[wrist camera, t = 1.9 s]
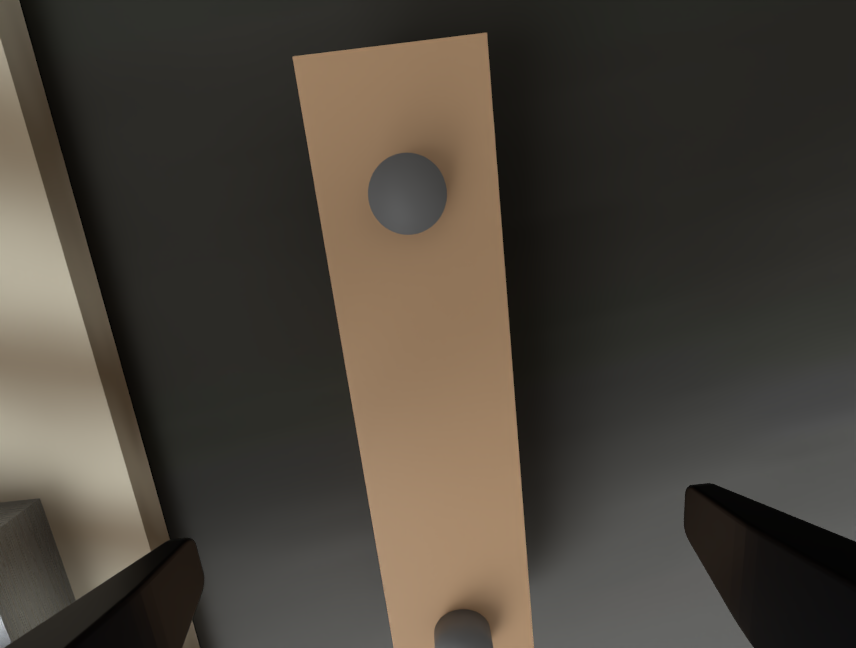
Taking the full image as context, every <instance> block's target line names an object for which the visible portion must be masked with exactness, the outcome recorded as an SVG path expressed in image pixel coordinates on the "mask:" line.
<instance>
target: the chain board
mask: <svg viewBox="0 0 856 648" xmlns="http://www.w3.org/2000/svg"><path fill="white" fill-rule="evenodd" d="M38 498H40V500H41V503H42V505H43V508H44V511H45V514H46V517H47V520H48V523H49V525H50V528H51V531H52V534H53V537H54V540H55V542H56V545H57V548H58V551H59V554H60V557H61V560H62V562H63V565H64V568H65V571H66V574H67V577H68V579H69V582H70V585H71V588H72V591H73V594H74V597H75V599H76V600H77V599H79V598H80V597H82V596H83V595H85V594H86V593H88V592H89V591H91V590H93V589H94V588H96V587H97V586H99V585H100V584H102V583H103V582H105V581H106V580H108V579H109V578H111V577H112V576H114V575H115V574H117V573H118V572H120V571H122V570H123V569H125V568H126V567H128V566H129V565H131V564H132V563H134V562H135V561H137V560H138V559H140V558H141V557H143V556H144V555H146V554H147V553H149V552H151V551H152V550H154V549H155V548H157V547H158V546H160V545H161V544H163V543H164V542H166V541H168V540H170V538H169V535H168V531H167V528H166V524H165V521H164V517H163V513H162V510H161V506H160V503H159V499H158V496H157V492H156V488H155V485H154V481H153V478H152V474H151V470H150V467H149V463H148V460H147V456H146V453H145V449H144V445H143V442H142V438H141V435H140V431H139V427H138V424H137V420H136V417H135V413H134V410H133V406H132V402H131V399H130V395H129V392H128V388H127V385H126V381H125V377H124V374H123V370H122V367H121V363H120V359H119V356H118V352H117V349H116V345H115V342H114V338H113V334H112V331H111V327H110V324H109V320H108V316H107V313H106V309H105V306H104V302H103V299H102V295H101V291H100V288H99V284H98V281H97V277H96V274H95V270H94V266H93V263H92V259H91V256H90V252H89V248H88V245H87V241H86V238H85V234H84V231H83V227H82V223H81V220H80V216H79V213H78V209H77V205H76V202H75V198H74V195H73V191H72V188H71V184H70V180H69V177H68V173H67V170H66V166H65V162H64V159H63V155H62V152H61V148H60V145H59V141H58V137H57V134H56V130H55V127H54V123H53V120H52V116H51V112H50V109H49V105H48V102H47V98H46V94H45V91H44V87H43V84H42V80H41V77H40V73H39V69H38V66H37V62H36V59H35V55H34V51H33V48H32V44H31V41H30V37H29V34H28V30H27V26H26V23H25V19H24V16H23V12H22V9H21V5H20V1H19V0H0V502H9V501H19V500H28V499H38ZM183 648H200V646H199V642H198V639H197V635H196V632H195V628H194V624H193V621H192V622H191V625H190V628H189V631H188V634H187V636H186V639H185V642H184V645H183Z"/></svg>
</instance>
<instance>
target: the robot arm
mask: <svg viewBox="0 0 856 648" xmlns="http://www.w3.org/2000/svg"><path fill="white" fill-rule="evenodd" d="M684 529H685V533H686V535H687V538H688V540H689V542H690V543H691V545H692V547H693V549H694V550H695V552H696V554H697V555H698V557H699V559H700V561H701V562H702V564H703V566H704V568H705V569H706V571H707V573H708V574H709V576H710V578H711V580H712V581H713V583H714V585H715V587H716V588H717V590H718V592H719V593H720V595H721V597H722V599H723V600H724V602H725V604H726V606H727V607H728V609H729V611H730V612H731V614H732V616H733V617H734V619H735V620H736V622H737V624H738V625H739V627H740V628H741V630H742V631H743V633H744V634H745V636H746V637H747V639H748V640H749V642H750V643H751V644H752V646H753V647H754V648H856V542H855V541H853V540H850V539H848V538H845V537H843V536H840V535H838V534H835V533H833V532H830V531H828V530H825V529H823V528H821V527H818V526H816V525H813V524H811V523H808V522H806V521H803V520H801V519H798V518H796V517H793V516H791V515H789V514H786V513H784V512H781V511H779V510H776V509H774V508H771V507H769V506H766V505H764V504H761V503H759V502H757V501H754V500H752V499H749V498H747V497H744V496H742V495H739V494H737V493H734V492H732V491H729V490H727V489H725V488H722V487H720V486H717V485H715V484H711V483H706V484H697V485H690V486H689V487H687V489H686V491H685V508H684ZM203 586H204V573H203V569H202V565H201V561H200V558H199V554H198V550H197V546H196V543H195V541H194V540H193V539H191V538H182V539H172V540H168V541H166V542H164V543H163V544H161V545H160V546H158V547H157V548H155V549H154V550H152V551H151V552H149V553H147V554H146V555H144V556H143V557H141V558H140V559H138V560H137V561H135V562H134V563H132V564H131V565H129V566H128V567H126V568H125V569H123V570H122V571H120V572H118V573H117V574H115V575H114V576H112V577H111V578H109V579H108V580H106V581H105V582H103V583H102V584H100V585H99V586H97V587H96V588H94V589H93V590H91V591H89V592H88V593H86V594H85V595H83V596H82V597H80V598H79V599H77V600H76V601H74V602H73V603H71V604H70V605H68V606H67V607H65V608H64V609H62V610H60V611H59V612H57V613H56V614H54V615H53V616H51V617H50V618H48V619H47V620H45V621H44V622H42V623H41V624H39V625H38V626H36V627H35V628H33V629H31V630H30V631H28V632H27V633H25V634H24V635H22V636H21V637H19V638H18V639H16V640H15V641H13V642H12V643H10V644H9V645H7V646H6V647H4V648H183V645H184V642H185V639H186V636H187V634H188V631H189V628H190V625H191V622H192V619H193V617H194V614H195V611H196V608H197V605H198V602H199V599H200V597H201V594H202V591H203Z"/></svg>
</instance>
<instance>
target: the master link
mask: <svg viewBox="0 0 856 648" xmlns="http://www.w3.org/2000/svg"><path fill="white" fill-rule="evenodd" d="M293 63H294V69H295V74H296V80H297V86H298V92H299V98H300V104H301V109H302V115H303V121H304V127H305V133H306V139H307V145H308V150H309V156H310V162H311V168H312V174H313V180H314V185H315V191H316V197H317V203H318V209H319V215H320V220H321V226H322V232H323V238H324V244H325V250H326V255H327V261H328V267H329V273H330V279H331V285H332V290H333V296H334V302H335V308H336V314H337V320H338V326H339V331H340V337H341V343H342V349H343V355H344V361H345V366H346V372H347V378H348V384H349V390H350V396H351V401H352V407H353V413H354V419H355V425H356V431H357V436H358V442H359V448H360V454H361V460H362V466H363V471H364V477H365V483H366V489H367V495H368V501H369V506H370V512H371V518H372V524H373V530H374V536H375V542H376V547H377V553H378V559H379V565H380V571H381V577H382V582H383V588H384V594H385V600H386V606H387V612H388V617H389V623H390V629H391V635H392V641H393V647H394V648H534V643H533V630H532V617H531V604H530V591H529V577H528V564H527V551H526V538H525V525H524V512H523V499H522V486H521V472H520V459H519V446H518V433H517V420H516V407H515V394H514V381H513V368H512V354H511V341H510V328H509V315H508V302H507V289H506V276H505V263H504V249H503V236H502V223H501V210H500V197H499V184H498V171H497V158H496V145H495V131H494V118H493V105H492V92H491V79H490V66H489V53H488V40H487V33H479V34H471V35H463V36H455V37H447V38H439V39H431V40H423V41H414V42H406V43H398V44H390V45H382V46H374V47H366V48H358V49H350V50H342V51H334V52H325V53H317V54H309V55H301V56H293Z"/></svg>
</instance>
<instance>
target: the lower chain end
mask: <svg viewBox="0 0 856 648" xmlns="http://www.w3.org/2000/svg"><path fill="white" fill-rule="evenodd" d="M74 601H76V599H75V597H74V594H73V591H72V588H71V585H70V582H69V579H68V577H67V574H66V571H65V568H64V565H63V562H62V560H61V557H60V554H59V551H58V548H57V545H56V542H55V540H54V537H53V534H52V531H51V528H50V525H49V523H48V520H47V517H46V514H45V511H44V508H43V505H42V503H41V500H40V498H38V499H28V500H19V501H9V502H0V648H4V647H6V646H7V645H9V644H10V643H12V642H13V641H15V640H16V639H18V638H19V637H21V636H22V635H24V634H25V633H27V632H28V631H30V630H31V629H33V628H35V627H36V626H38V625H39V624H41V623H42V622H44V621H45V620H47V619H48V618H50V617H51V616H53V615H54V614H56V613H57V612H59V611H60V610H62V609H64V608H65V607H67V606H68V605H70V604H71V603H73V602H74Z"/></svg>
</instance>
